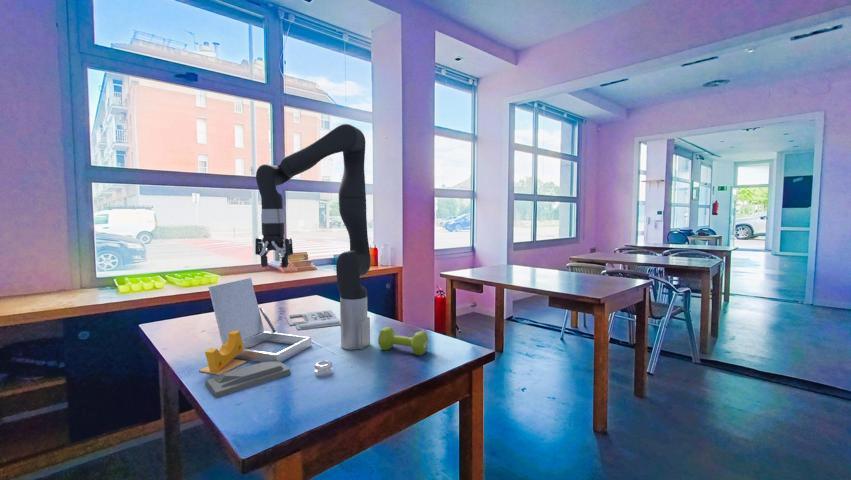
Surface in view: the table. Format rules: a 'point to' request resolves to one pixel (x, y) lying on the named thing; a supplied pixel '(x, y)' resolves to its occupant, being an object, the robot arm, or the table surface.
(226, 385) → the grey bevelled block
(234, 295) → the lid
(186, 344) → the table surface
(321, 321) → the office telephone
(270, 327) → the rod
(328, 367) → the metal grooved wheel
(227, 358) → the yellow curved stepped piece
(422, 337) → the dumbbell
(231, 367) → the tan rectangular plate
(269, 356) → the case
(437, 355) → the table surface
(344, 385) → the table surface
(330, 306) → the table surface
